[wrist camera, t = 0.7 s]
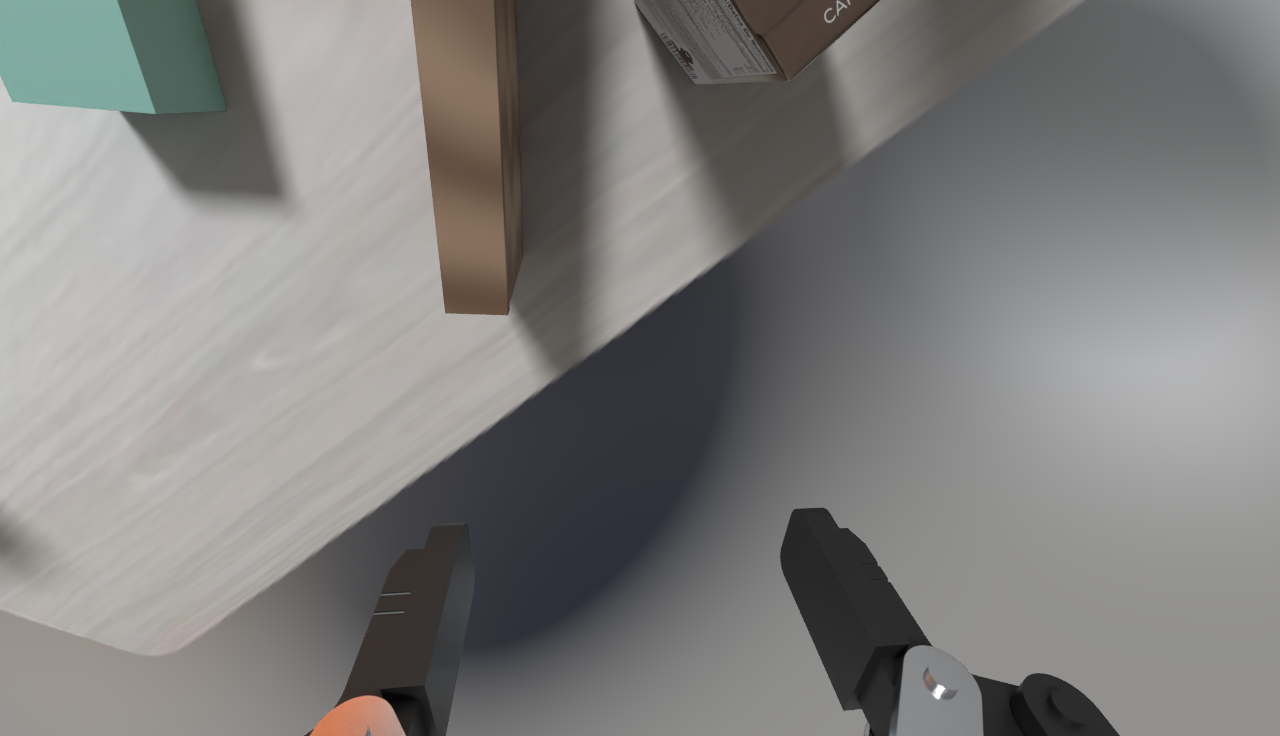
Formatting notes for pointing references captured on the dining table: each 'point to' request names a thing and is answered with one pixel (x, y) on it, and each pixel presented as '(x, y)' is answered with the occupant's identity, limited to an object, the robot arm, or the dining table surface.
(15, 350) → the dining table surface
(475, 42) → the walnut board
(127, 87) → the green block
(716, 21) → the coffee box
